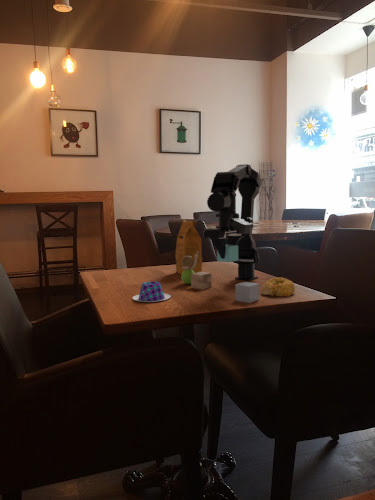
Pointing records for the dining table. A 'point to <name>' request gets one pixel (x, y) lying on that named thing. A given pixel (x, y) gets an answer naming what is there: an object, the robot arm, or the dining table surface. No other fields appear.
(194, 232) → the coffee package
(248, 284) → the grey cube
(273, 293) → the bagel
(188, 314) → the dining table surface
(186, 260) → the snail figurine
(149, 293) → the pudding
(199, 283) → the walnut block
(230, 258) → the teal block
